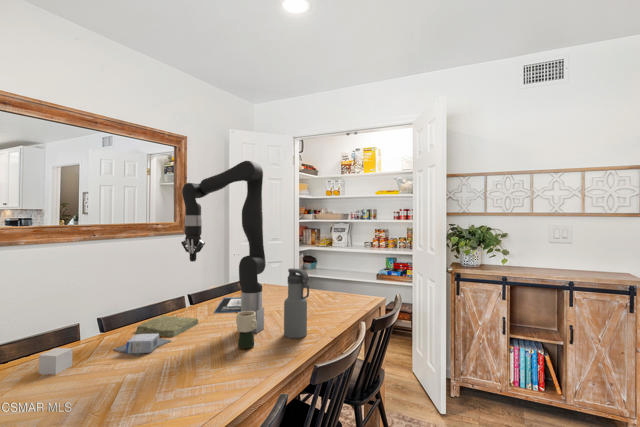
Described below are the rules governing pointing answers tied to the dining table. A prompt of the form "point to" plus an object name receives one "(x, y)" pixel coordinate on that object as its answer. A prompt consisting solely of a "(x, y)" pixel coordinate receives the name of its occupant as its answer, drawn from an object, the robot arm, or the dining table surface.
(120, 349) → the mat
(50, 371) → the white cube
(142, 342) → the medicine box
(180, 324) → the folded green cloth
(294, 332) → the water bottle
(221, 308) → the sketchbook
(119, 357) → the dining table surface
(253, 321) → the character mug
